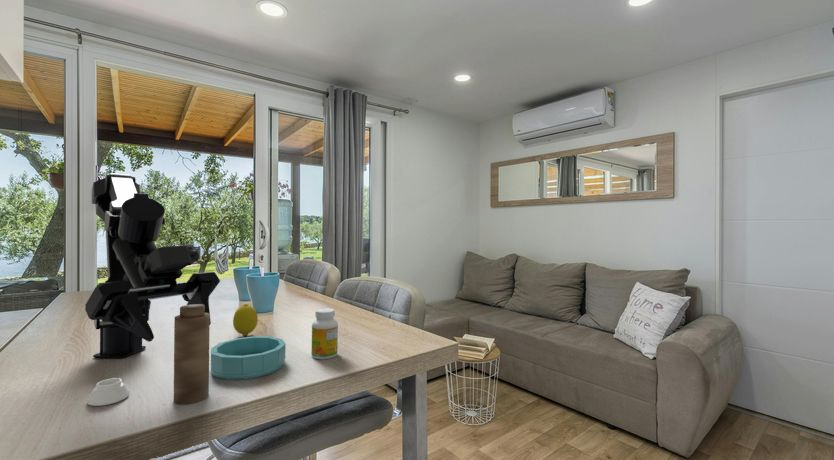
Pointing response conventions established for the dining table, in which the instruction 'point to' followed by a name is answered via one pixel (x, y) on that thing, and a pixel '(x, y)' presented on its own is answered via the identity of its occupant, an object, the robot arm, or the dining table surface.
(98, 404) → the lidless jar
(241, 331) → the lemon
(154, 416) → the dining table surface
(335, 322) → the supplement bottle
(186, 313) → the pepper mill
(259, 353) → the bowl
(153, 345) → the dining table surface
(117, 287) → the robot arm
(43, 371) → the dining table surface
